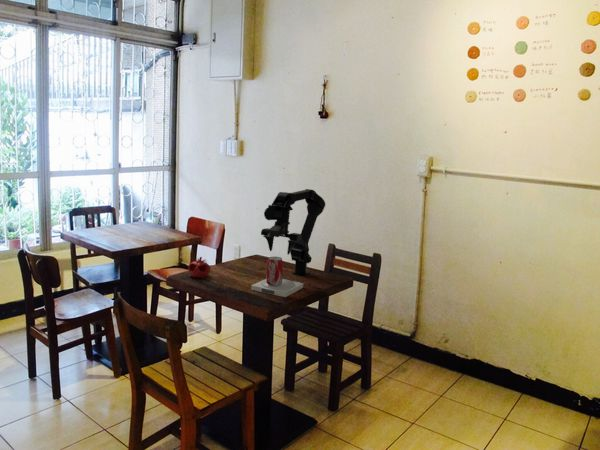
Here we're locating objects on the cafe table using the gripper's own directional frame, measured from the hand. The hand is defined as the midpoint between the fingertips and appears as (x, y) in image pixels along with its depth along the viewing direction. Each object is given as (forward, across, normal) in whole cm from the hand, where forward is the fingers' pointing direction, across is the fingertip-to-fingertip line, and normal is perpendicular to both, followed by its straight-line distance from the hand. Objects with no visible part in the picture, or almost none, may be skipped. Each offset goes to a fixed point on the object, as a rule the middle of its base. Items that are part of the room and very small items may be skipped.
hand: (279, 252), depth 244 cm
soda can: (+12, +6, -15) cm, 20 cm away
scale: (+14, +7, -12) cm, 19 cm away
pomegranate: (+15, -32, -16) cm, 39 cm away
